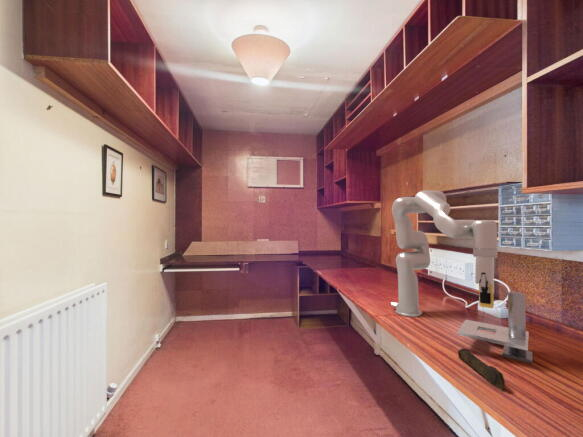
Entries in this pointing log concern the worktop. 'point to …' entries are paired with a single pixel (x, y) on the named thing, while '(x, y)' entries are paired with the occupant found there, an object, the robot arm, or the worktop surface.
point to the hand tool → (483, 369)
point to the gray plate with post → (505, 330)
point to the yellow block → (491, 298)
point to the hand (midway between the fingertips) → (486, 301)
